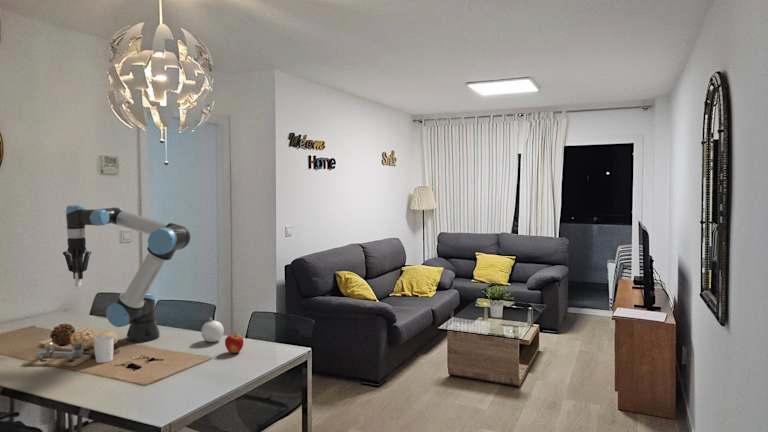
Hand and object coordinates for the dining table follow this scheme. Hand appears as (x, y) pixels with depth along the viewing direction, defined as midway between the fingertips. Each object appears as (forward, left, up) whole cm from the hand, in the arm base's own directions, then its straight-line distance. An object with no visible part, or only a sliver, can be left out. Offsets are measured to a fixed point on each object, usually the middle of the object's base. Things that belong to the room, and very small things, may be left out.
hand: (78, 285), depth 260 cm
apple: (-79, +10, -29) cm, 85 cm away
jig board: (-5, +25, -28) cm, 38 cm away
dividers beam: (-4, +24, -27) cm, 37 cm away
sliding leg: (+1, +24, -27) cm, 36 cm away
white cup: (-25, +23, -29) cm, 44 cm away
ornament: (-63, -6, -29) cm, 69 cm away
